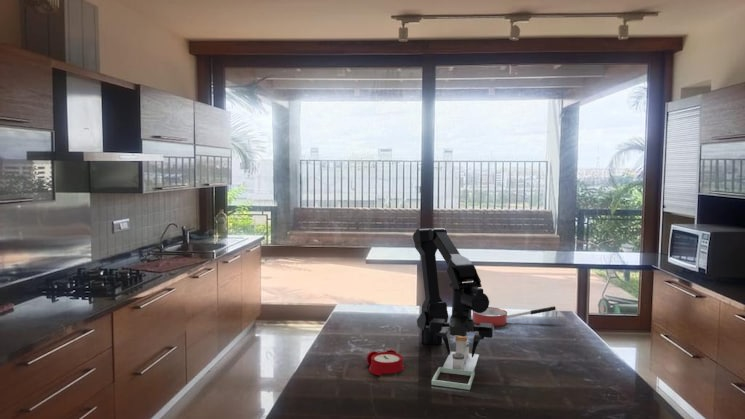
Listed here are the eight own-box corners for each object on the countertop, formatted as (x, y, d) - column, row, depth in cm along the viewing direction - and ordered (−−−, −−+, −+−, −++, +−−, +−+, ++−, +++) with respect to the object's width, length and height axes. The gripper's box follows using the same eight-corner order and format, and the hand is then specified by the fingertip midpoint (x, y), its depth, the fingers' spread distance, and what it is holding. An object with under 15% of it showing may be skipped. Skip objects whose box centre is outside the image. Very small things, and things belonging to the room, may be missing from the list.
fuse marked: (454, 363, 155) (454, 337, 154) (456, 359, 158) (456, 334, 157) (465, 364, 153) (466, 339, 153) (467, 360, 157) (467, 335, 156)
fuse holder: (440, 374, 149) (441, 357, 149) (450, 354, 165) (450, 339, 165) (472, 377, 146) (472, 360, 146) (479, 357, 162) (479, 342, 162)
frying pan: (544, 315, 211) (544, 300, 210) (559, 325, 198) (560, 308, 197) (468, 318, 207) (468, 302, 206) (478, 328, 194) (478, 311, 193)
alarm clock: (375, 368, 144) (363, 339, 158) (373, 387, 146) (361, 357, 160) (410, 364, 147) (395, 337, 161) (408, 383, 149) (394, 355, 163)
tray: (431, 388, 139) (431, 380, 139) (438, 374, 149) (438, 366, 149) (469, 393, 136) (469, 385, 136) (474, 378, 146) (474, 371, 146)
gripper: (425, 308, 150) (424, 361, 151) (491, 314, 144) (490, 369, 145) (432, 299, 160) (432, 349, 161) (494, 304, 154) (493, 355, 156)
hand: (460, 355), depth 155 cm, fingers open, 7 cm apart
